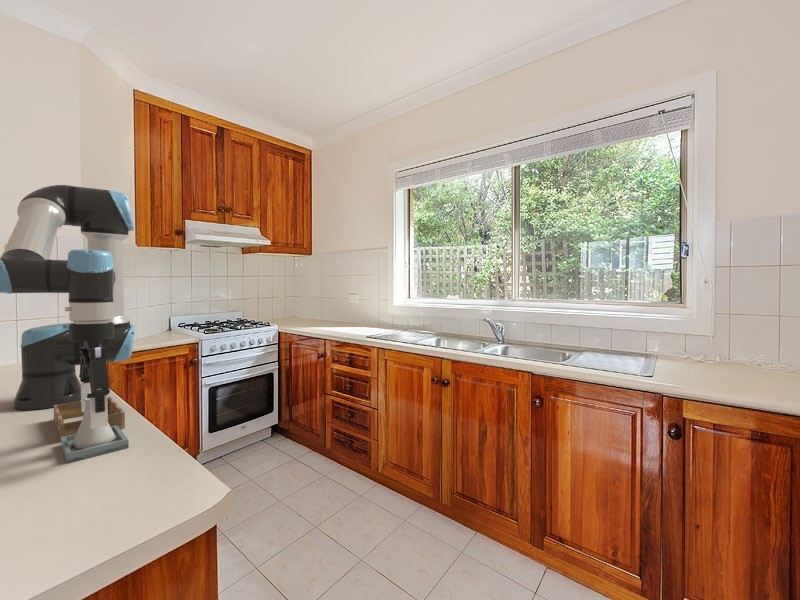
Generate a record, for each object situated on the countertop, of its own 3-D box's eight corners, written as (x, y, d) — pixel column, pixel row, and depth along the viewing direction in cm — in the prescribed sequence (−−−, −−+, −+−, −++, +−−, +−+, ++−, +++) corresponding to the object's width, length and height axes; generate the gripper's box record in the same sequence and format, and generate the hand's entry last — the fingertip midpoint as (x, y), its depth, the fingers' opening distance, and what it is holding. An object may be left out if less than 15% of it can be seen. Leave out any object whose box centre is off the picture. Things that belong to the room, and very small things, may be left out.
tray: (60, 445, 81) (60, 437, 81) (117, 432, 88) (117, 425, 88) (66, 463, 73) (66, 454, 73) (128, 447, 80) (128, 439, 80)
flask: (90, 451, 76) (89, 404, 76) (63, 448, 78) (62, 401, 78) (123, 438, 83) (122, 394, 83) (98, 435, 85) (97, 392, 85)
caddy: (54, 420, 96) (53, 405, 96) (110, 410, 104) (109, 396, 104) (61, 442, 83) (61, 424, 83) (125, 428, 91) (124, 412, 91)
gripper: (62, 318, 86) (64, 408, 87) (76, 328, 69) (79, 440, 69) (103, 316, 91) (105, 401, 92) (126, 325, 74) (127, 429, 75)
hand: (94, 418), depth 81 cm, fingers open, 13 cm apart
